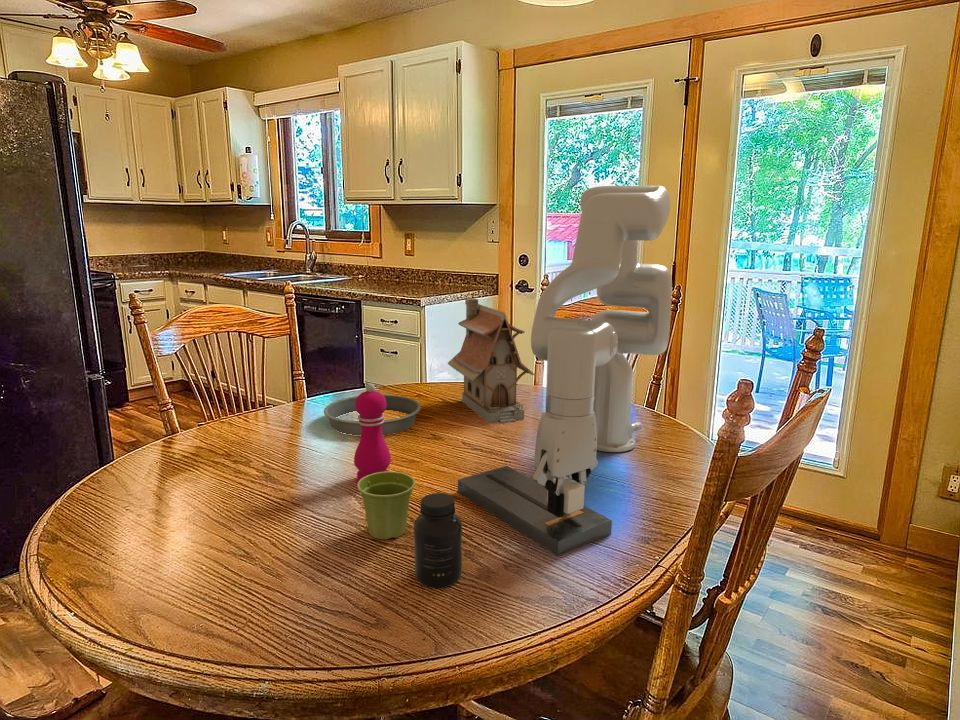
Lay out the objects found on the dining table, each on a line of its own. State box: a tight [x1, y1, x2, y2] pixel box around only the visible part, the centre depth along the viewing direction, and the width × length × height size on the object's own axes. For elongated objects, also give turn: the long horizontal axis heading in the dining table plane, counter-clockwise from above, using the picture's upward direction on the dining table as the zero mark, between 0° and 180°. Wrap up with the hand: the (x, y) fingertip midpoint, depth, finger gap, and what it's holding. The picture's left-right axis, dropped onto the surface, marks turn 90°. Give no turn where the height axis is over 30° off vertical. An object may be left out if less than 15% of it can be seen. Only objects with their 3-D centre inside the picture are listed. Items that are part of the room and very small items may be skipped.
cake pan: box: [323, 394, 422, 436], centre depth 154 cm, size 25×25×4 cm
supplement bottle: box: [413, 492, 463, 589], centre depth 86 cm, size 7×7×12 cm
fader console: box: [457, 465, 613, 557], centre depth 107 cm, size 28×12×3 cm, turn 36°
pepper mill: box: [353, 382, 392, 483], centre depth 117 cm, size 7×7×20 cm
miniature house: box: [447, 297, 535, 425], centre depth 163 cm, size 18×24×30 cm
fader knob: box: [547, 476, 586, 517], centre depth 99 cm, size 5×4×6 cm
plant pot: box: [356, 470, 416, 540], centre depth 99 cm, size 9×9×9 cm
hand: (564, 509), depth 99 cm, fingers closed on fader knob, 3 cm apart
